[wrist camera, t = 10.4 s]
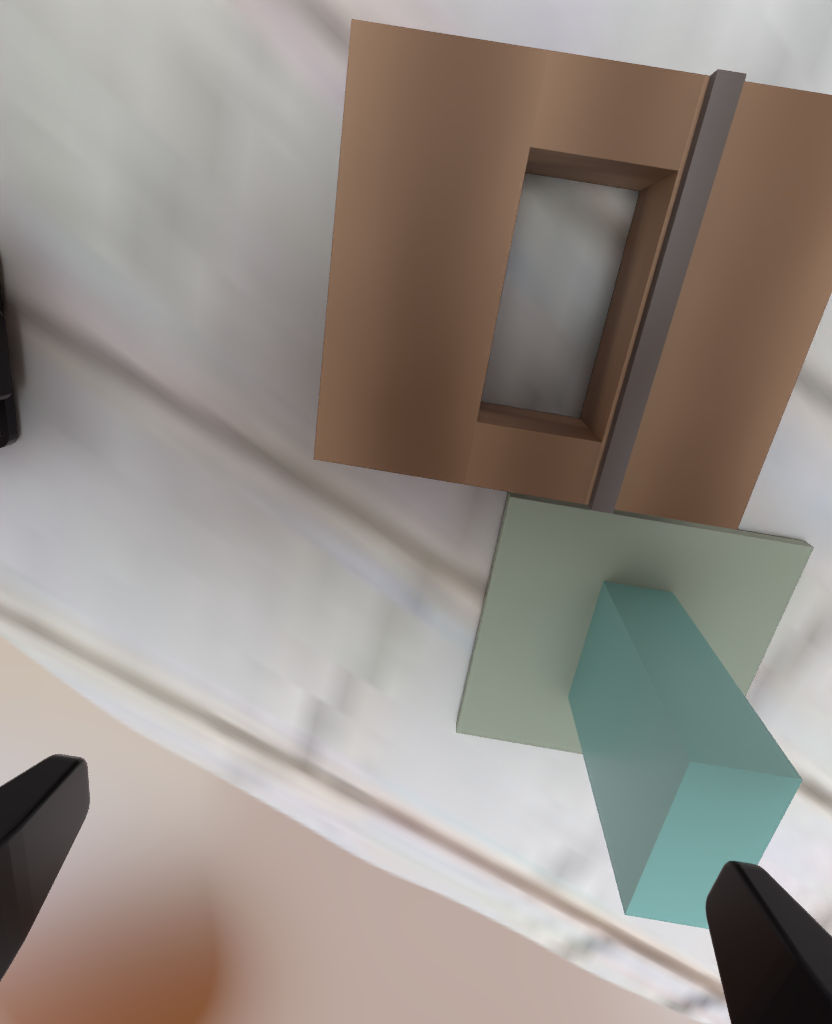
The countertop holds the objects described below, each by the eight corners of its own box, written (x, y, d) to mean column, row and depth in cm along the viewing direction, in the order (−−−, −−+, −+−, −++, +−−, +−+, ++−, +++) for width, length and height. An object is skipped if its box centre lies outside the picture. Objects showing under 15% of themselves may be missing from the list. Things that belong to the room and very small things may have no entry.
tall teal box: (567, 697, 21) (624, 914, 14) (603, 580, 20) (690, 761, 12) (631, 707, 21) (722, 931, 14) (672, 592, 20) (802, 779, 12)
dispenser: (334, 433, 19) (310, 463, 16) (371, 68, 15) (348, 10, 12) (695, 493, 19) (743, 535, 16) (822, 139, 15) (919, 101, 12)
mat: (456, 723, 23) (456, 732, 22) (508, 491, 19) (509, 496, 19) (703, 765, 23) (708, 775, 22) (805, 541, 19) (813, 547, 19)
